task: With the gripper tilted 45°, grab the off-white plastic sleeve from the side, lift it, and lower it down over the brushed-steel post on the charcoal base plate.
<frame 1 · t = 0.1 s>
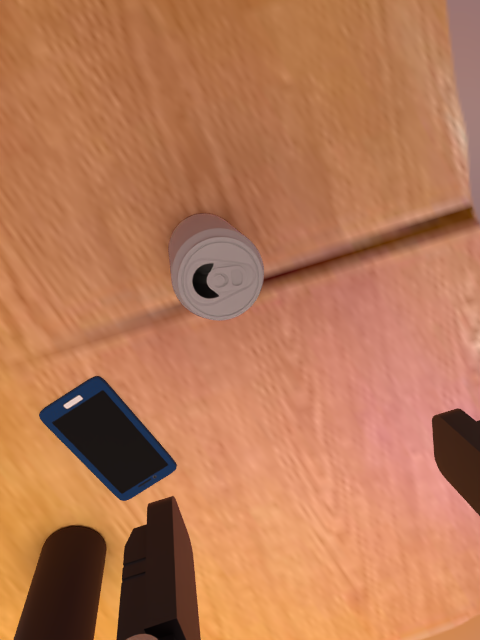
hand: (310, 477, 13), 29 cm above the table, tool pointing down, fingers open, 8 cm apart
beverage can: (203, 247, 39), on the table
bottle: (75, 547, 48), on the table
cell phone: (112, 438, 45), on the table
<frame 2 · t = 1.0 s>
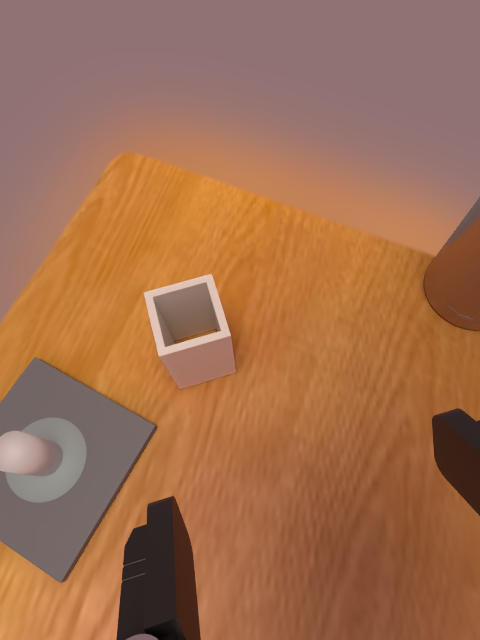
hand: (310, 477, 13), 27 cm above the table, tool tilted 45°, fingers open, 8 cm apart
post plate: (51, 459, 39), on the table
sleeve: (201, 354, 42), on the table
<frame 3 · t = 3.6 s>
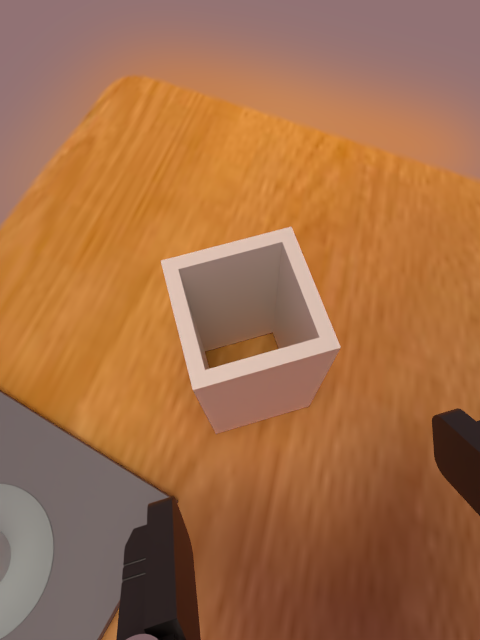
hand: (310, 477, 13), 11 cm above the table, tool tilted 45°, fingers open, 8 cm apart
sleeve: (249, 374, 26), on the table
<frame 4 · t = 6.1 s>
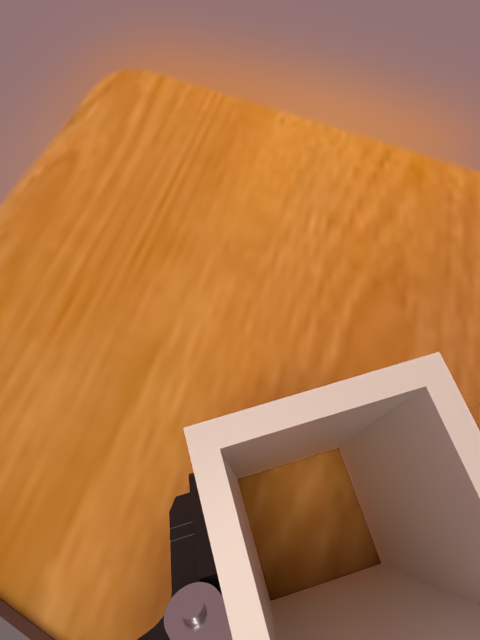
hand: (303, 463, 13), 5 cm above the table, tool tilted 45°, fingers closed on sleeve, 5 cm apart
sleeve: (306, 519, 17), on the table, touching gripper
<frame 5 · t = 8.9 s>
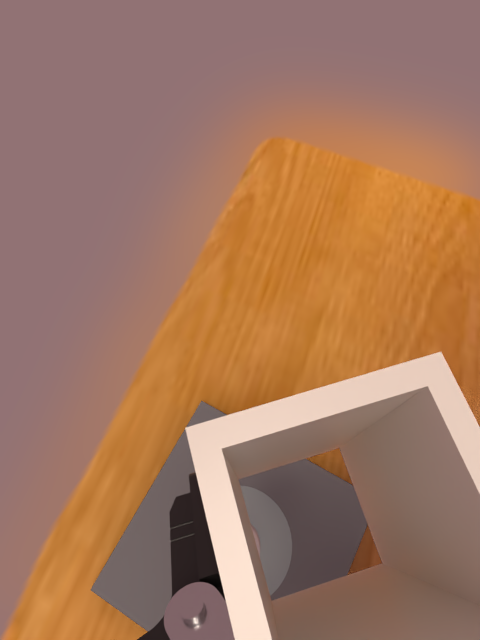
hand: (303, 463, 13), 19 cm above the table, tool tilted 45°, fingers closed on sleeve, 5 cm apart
post plate: (238, 542, 29), on the table
sleeve: (307, 519, 17), point 14 cm above the table, touching gripper
when the fingers open (7 cm above the table, at t = 11.7 s): sleeve stays where it is, resting on post plate.
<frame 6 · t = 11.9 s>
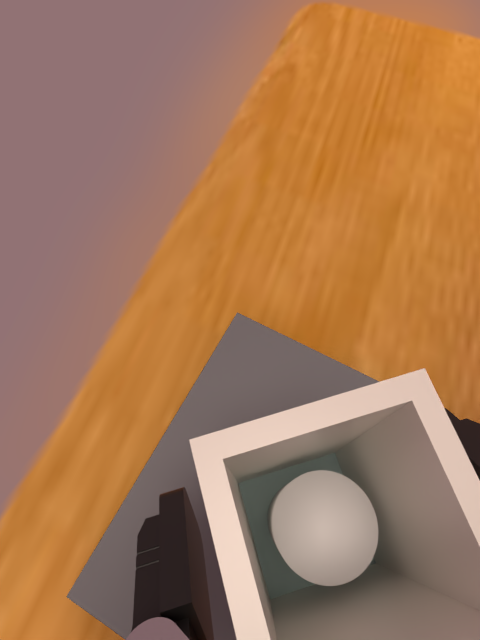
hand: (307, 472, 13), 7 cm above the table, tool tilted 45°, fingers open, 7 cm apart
post plate: (301, 519, 19), on the table
sleeve: (304, 521, 18), point 1 cm above the table, touching post plate
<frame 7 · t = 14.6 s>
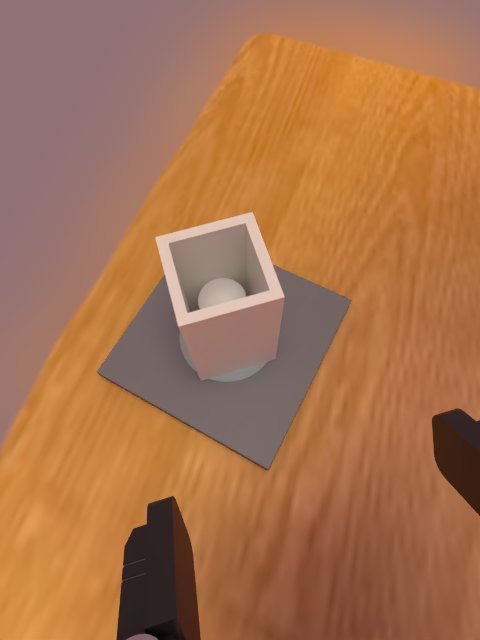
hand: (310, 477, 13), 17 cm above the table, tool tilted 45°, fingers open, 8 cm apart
post plate: (228, 339, 33), on the table
sleeve: (227, 335, 32), point 1 cm above the table, touching post plate
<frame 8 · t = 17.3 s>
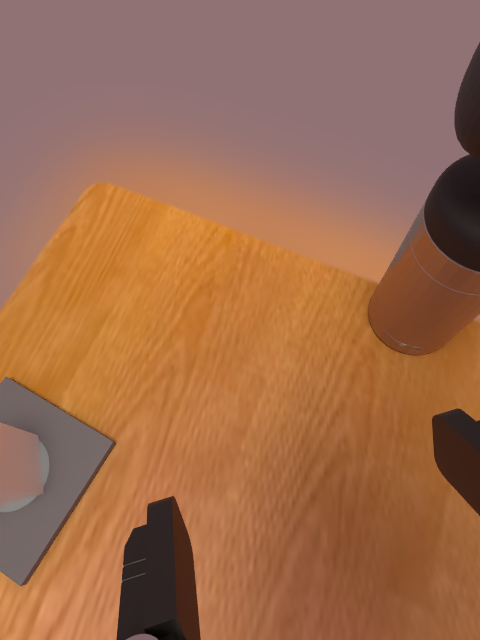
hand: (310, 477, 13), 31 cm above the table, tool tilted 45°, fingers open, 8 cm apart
post plate: (17, 472, 42), on the table
sleeve: (12, 472, 41), point 1 cm above the table, touching post plate
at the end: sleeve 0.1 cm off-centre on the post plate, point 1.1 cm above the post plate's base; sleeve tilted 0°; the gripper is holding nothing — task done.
